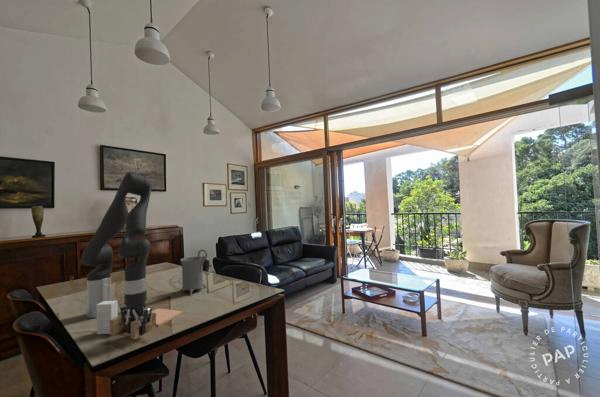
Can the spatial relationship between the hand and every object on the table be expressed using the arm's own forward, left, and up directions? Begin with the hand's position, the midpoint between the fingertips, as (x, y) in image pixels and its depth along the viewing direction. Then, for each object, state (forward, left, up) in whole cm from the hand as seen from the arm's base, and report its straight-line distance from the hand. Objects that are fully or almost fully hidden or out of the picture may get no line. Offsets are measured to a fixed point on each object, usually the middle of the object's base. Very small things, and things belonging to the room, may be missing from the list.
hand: (136, 333), depth 103 cm
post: (-8, +5, -1) cm, 9 cm away
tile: (-7, +17, -1) cm, 18 cm away
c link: (-6, +4, -1) cm, 7 cm away
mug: (-17, +53, -2) cm, 55 cm away
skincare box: (-16, 0, -2) cm, 16 cm away
